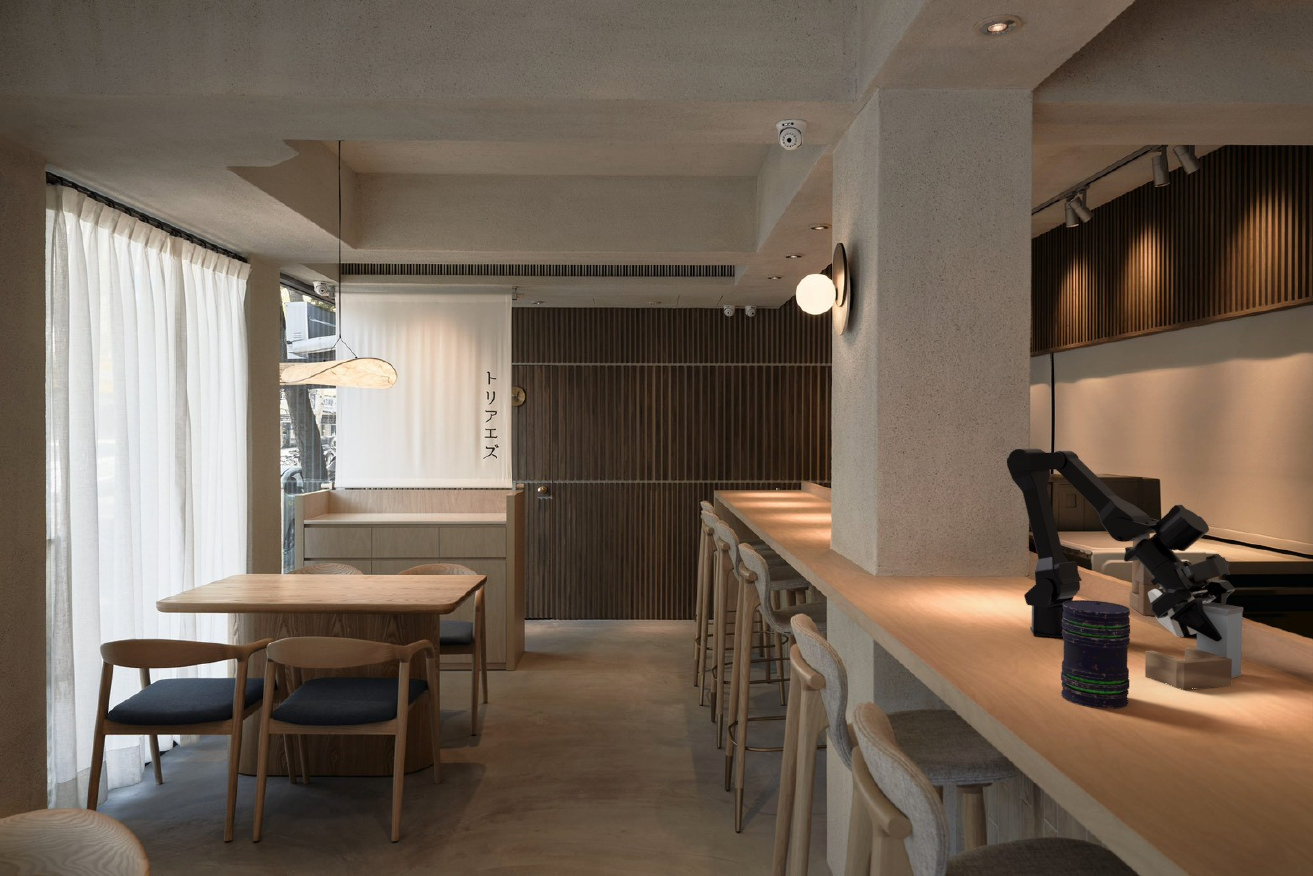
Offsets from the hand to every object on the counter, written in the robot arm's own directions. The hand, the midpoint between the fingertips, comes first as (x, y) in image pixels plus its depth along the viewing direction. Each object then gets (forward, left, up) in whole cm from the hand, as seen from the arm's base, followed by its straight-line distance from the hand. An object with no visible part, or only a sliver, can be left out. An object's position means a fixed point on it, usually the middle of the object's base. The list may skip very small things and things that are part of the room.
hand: (1227, 638), depth 155 cm
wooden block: (-1, +55, -7) cm, 56 cm away
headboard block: (-8, -5, -7) cm, 12 cm away
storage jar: (-25, -22, -7) cm, 34 cm away
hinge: (+1, +37, -7) cm, 38 cm away
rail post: (-1, +1, -7) cm, 7 cm away
